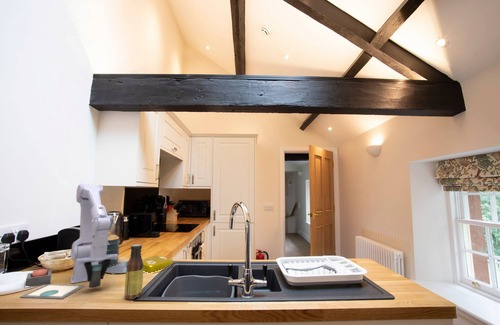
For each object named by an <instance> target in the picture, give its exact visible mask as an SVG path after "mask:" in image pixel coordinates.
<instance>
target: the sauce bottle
mask: <svg viewBox="0 0 500 325" xmlns="http://www.w3.org/2000/svg"><path fill="white" fill-rule="evenodd" d="M142 248H143V245H142V244H140V243H137V244H135V243H134V244H132V245H131V246H130V256H129V257H130V258H128V260H127V263H126V269H125V270H126V271H125V282H124V292H123V293H124V298H125V299H126V298H127V299H126V300H128V299H132V300H134V299H133V298H135V297H137V296H140V295H141V296H142V292H143V279H144V272H143V266H144V265H143V261H142V259H143V258H142ZM141 296H140V297H141Z"/></svg>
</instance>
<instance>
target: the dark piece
mask: <svg viewBox="0 0 500 325" xmlns="http://www.w3.org/2000/svg"><path fill="white" fill-rule="evenodd" d="M102 266H103V265H101V264H97V265H93V266H92V269H91V276H90V282H88V288H89V289H95V288H98V287H101V283H102V282H101V281H102V279H101V275H102Z"/></svg>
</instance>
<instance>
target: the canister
mask: <svg viewBox="0 0 500 325" xmlns="http://www.w3.org/2000/svg"><path fill="white" fill-rule="evenodd" d="M119 239H120V237H119V236H118V235H117V234H112V233H111V232H110V231H109V236H108V244H107V252H106V255H110V254H117V255H118V256H119V255H120V243H121V240H119ZM110 261H111V263H110V265H113V264H115V265H117V264H118V263H117V262H119V257H118V258H117V260H110ZM116 263H117V264H116ZM98 264H101V265H102V261H99V262H98ZM110 265H109V267H111V266H110ZM113 266H114V265H113Z"/></svg>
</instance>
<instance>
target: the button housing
mask: <svg viewBox="0 0 500 325" xmlns="http://www.w3.org/2000/svg"><path fill="white" fill-rule="evenodd" d="M52 272H53V271H52V270H51V269H50V270H47V275H44V276H38V277H32V273H33V272H29V273H27V275H26V278H25V282H24V283H25V284H24V287H25V286H33V287H39V286H45V285H47V284H51V281H52V280H51V279H52Z"/></svg>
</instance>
